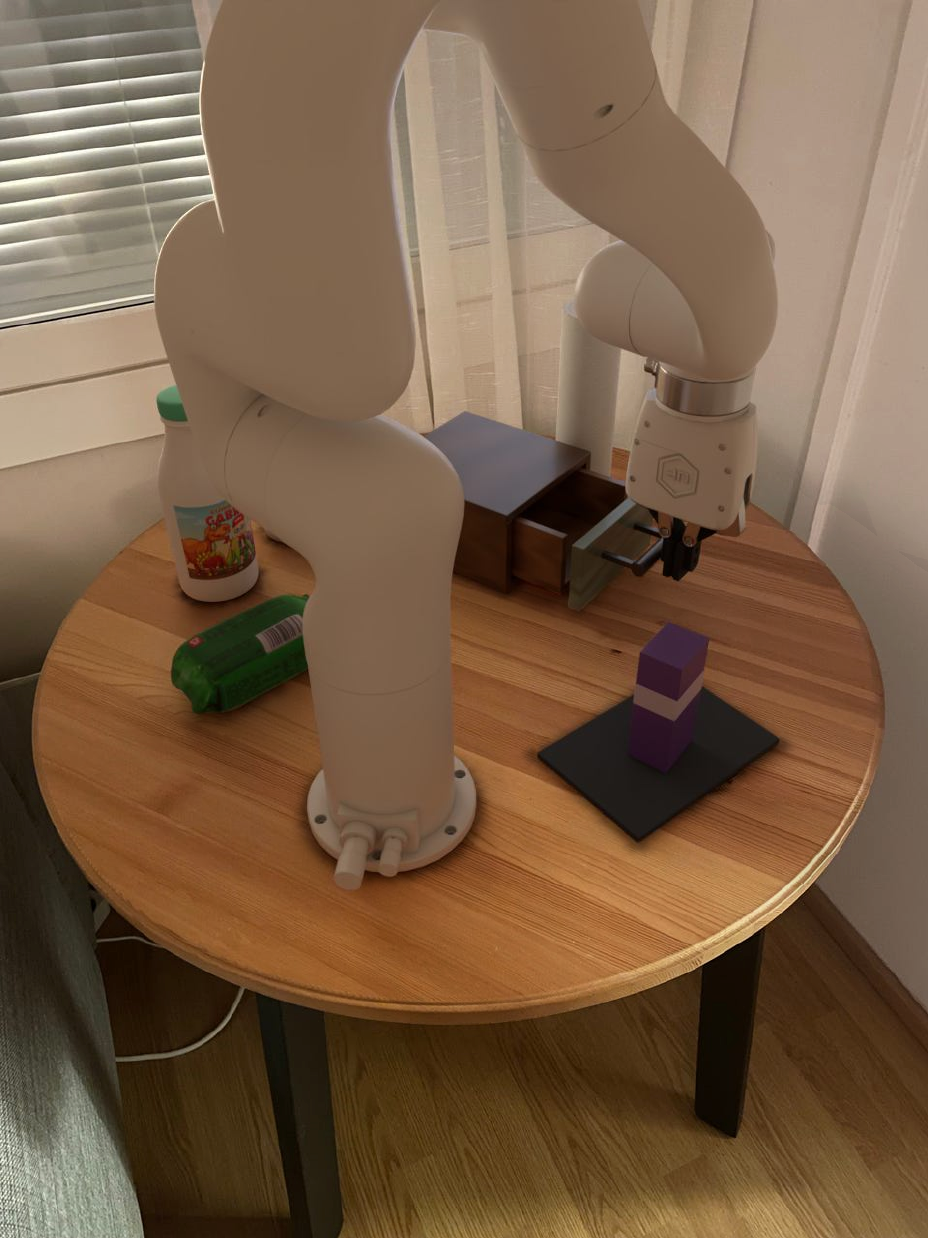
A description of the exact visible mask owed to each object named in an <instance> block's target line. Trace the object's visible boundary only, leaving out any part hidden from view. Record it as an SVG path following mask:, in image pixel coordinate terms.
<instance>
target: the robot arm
mask: <svg viewBox="0 0 928 1238" xmlns="http://www.w3.org/2000/svg"><path fill="white" fill-rule="evenodd" d="M423 31H427V32H434V33H435V32H436V33H441V34H448V35H455V36H456V35H457V36H463V37H466V38H468V39H469V40H471V41H472V43H474V45H475V46H476V47H477V49H478V50H479V51H478V52H480V55H481V57H482V59H483V62H484V64H485V67H486V68H487V71H488V73H489V74H490V77H491V78H492V82H493V83H494V85H495V88H496V90H497V92H498V94H499V97H500V99H501V101H502V104H503V106H504V108H505V111H506V114H507V115H508V118H509V120H510V122H511V124H512V126H513V129H514V131H515V134H516V136H517V139H518V141H519V143H520V145H521V148H522V149H523V152H524V155H525V157H526V160H527V162H528V164H529V167H530V168H531V171H532V172H533V174H534V176H535V177H536V179H537V180H538V182H540V184H541V185H542V186H543V187H544V188H546V189H547V190H548V191H549V192H550V194H552V195H554V196H555V197H556V198H557V199H558V200H560V201H561V202H562V203H563V204H565V205H566V206H567V207H569V208H570V209H571V210H573V211H574V212H576V213H577V214H578V215H579V216H581V217H583V218H584V219H586V220H587V221H588V222H590V223H592V224H593V225H595V226H597V227H598V228H599V229H601V230H604V231H605V232H607V233H609V234H611V235H612V236H614V237H615V238H617V239H619V240H616V241H614V242H612V243H609V244H608V245H606V246H604V247H602V248H601V249H599V250H598V251H597V252H595V253H594V254H593V255H592V256H591V257H590V259H589V260H588V261H587V262H586V263H585V265H584V266H583V268H582V269H581V271H580V273H579V275H578V276H577V279H576V282H575V285H574V291H573V299H574V307H575V312H576V315H577V317H578V319H579V321H580V323H581V324H582V326H583V327H584V328H585V329H586V330H587V331H588V332H589V333H590V334H591V335H593V336H594V337H596V338H597V339H599V340H601V341H603V342H605V343H607V344H610V345H612V346H615V347H618V348H621V350H624V351H627V352H629V353H632V354H635V355H638V356H641V357H644V358H646V359H645V362H644V365H643V371H644V372H645V373H648V374H650V375H651V376H653V377H654V387H653V388H651V389H649V390H648V391H647V392H646V394H645V396H644V399H643V401H642V404H641V407H640V411H639V414H638V418H637V422H636V425H635V429H634V432H633V437H632V441H631V446H630V450H629V455H628V462H627V469H626V475H625V482H626V493H627V495H628V497H629V498H630V499H631V500H632V501H633V502H635V503H637V504H638V505H640V506H641V507H643V508H645V509H648V510H649V512H650V514H651V515H652V517H653V521H655V522H656V524H657V529H658V531H659V534H660V535H661V536H662V537H663V544H662V552H661V559H660V561H661V562H662V564H663V565H662V572H661V575H662V577H664V578H667V579H668V578H672V580H673V581H675V582H677V583H678V582H681V580H682V579H683V578H684V577H685V576H686V575H687V574H688V573H693V572H694V571H695V569H696V568H697V566H698V564H699V560H700V554H701V553H700V552H701V546H702V541H704V540H706V539H708V538H710V537H712V536H714V535H718V536H723V537H730V538H731V537H732V538H737V537H740V535H742V533H744V531H746V529H747V518H746V510H747V509H748V508H749V506H750V504H751V502H752V501H751V500H752V498H753V493H754V486H755V479H756V472H757V471H756V470H757V460H758V443H759V441H758V440H759V438H758V437H759V436H758V435H759V433H758V432H759V430H758V429H759V426H758V413H757V411H758V410H757V406H756V404H755V403H753V402H751V399H752V393H753V388H754V381H755V375H756V369H757V364H758V363H759V362H760V361H761V360H762V359H763V357H764V355H765V354H766V352H767V350H768V349H769V346H770V345H771V343H772V340H773V337H774V333H775V330H776V326H777V320H778V312H779V311H778V310H779V294H778V283H777V277H776V270H775V259H776V242H775V240H774V237H773V236H772V234H771V233H770V232H769V231H768V230H767V229H766V226H765V224H764V221H763V220H762V217H761V215H760V213H759V211H758V209H757V207H756V206H755V204H754V203H753V201H752V199H751V198H750V196H749V195H748V194H747V193H746V191H745V190H744V188H743V187H742V186H741V184H740V183H739V182H738V180H737V179H736V178H735V177H734V176H733V175H732V174H731V172H730V171H729V170H728V169H727V168H726V167H725V166H724V165H723V164H722V162H721V161H720V160H719V159H718V157H717V156H716V155H715V154H714V152H712V151H711V149H710V148H709V147H708V146H707V145H706V143H704V141H703V140H702V139H701V138H700V137H699V136H698V135H697V134H696V133H695V131H694V130H692V128H690V127H689V125H687V124H686V123H685V121H683V120H682V118H680V116H679V115H677V113H675V112H674V111H673V109H672V107H671V106H670V105H669V103H668V101H667V99H666V95H665V93H664V90H663V86H662V83H661V80H660V79H661V78H660V76H659V71H658V68H657V63H656V60H655V57H654V53H653V50H652V47H651V44H650V43H651V42H650V40H649V35H648V33H647V29H646V25H645V22H644V18H643V15H642V11H641V8H640V3H639V0H222V2H221V4H220V6H219V9H218V11H217V15H216V17H215V19H214V23H213V25H212V28H211V31H210V35H209V38H208V42H207V45H206V49H205V54H204V58H203V63H202V69H201V75H200V84H199V121H200V122H199V123H200V131H201V139H202V144H203V150H204V154H205V160H206V164H207V170H208V175H209V179H210V183H211V190H212V195H213V198H211V199H208V200H205V201H203V202H200V203H198V204H196V205H195V206H193V207H192V208H190V209H189V210H187V211H186V212H185V213H184V214H182V216H181V217H180V218H179V219H178V220H177V221H176V222H175V223H174V225H173V226H172V227H171V228H170V231H169V232H168V233H167V236H166V237H165V239H164V241H163V244H162V245H161V248H160V251H159V254H158V257H157V261H156V267H155V271H154V272H155V273H154V279H153V280H154V281H153V300H154V301H153V304H154V312H155V318H156V319H155V320H156V323H157V327H158V331H159V335H160V338H161V340H162V344H163V348H164V351H165V355H166V358H167V361H168V364H169V367H170V370H171V373H172V377H173V378H174V382H175V385H176V386H177V389H178V392H179V395H180V398H181V401H182V404H183V407H184V410H185V413H186V416H187V419H188V422H189V425H190V428H191V431H192V434H193V437H194V440H195V443H196V446H197V449H198V452H199V455H200V457H201V460H202V462H203V465H204V467H205V470H206V472H207V474H208V476H209V478H210V479H211V481H212V483H213V485H214V486H215V488H216V489H217V491H218V492H219V493H220V495H221V496H222V497H223V498H224V499H225V500H226V501H227V502H228V503H229V504H230V505H231V506H233V507H234V508H235V509H236V510H238V511H239V512H240V513H242V514H243V515H245V516H246V517H248V518H249V519H250V521H252V522H254V523H255V524H256V525H258V526H260V527H262V528H265V529H266V530H268V531H269V532H271V533H272V534H274V535H275V536H277V537H278V538H279V539H280V540H282V541H283V542H284V543H283V542H282V543H283V544H285V545H286V546H288V547H290V548H291V549H293V550H294V551H295V552H297V553H299V554H300V555H301V556H302V557H303V558H304V559H305V560H306V561H307V562H308V563H309V565H310V568H311V569H312V570H313V571H312V572H313V574H314V579H315V584H314V589H313V590H312V593H310V595H309V596H310V597H309V599H308V601H307V603H306V605H305V609H304V613H303V640H304V648H305V655H306V660H307V663H308V669H307V670H308V674H309V675H308V676H309V682H310V689H311V695H312V703H313V711H314V716H315V725H316V730H317V737H318V738H317V739H318V745H319V750H320V758H321V765H322V768H321V769H320V771H318V773H317V775H316V776H315V778H314V779H313V781H312V783H311V785H310V787H309V790H308V794H307V800H306V801H307V803H306V812H307V818H308V824H309V826H310V829H311V833H312V835H313V836H314V839H315V840H316V842H317V843H318V845H319V846H320V847H321V848H322V849H323V850H324V851H325V852H326V853H327V854H328V855H329V856H331V857H332V858H334V859H336V860H337V863H336V867H335V871H334V873H333V883H334V884H335V885H336V886H337V887H338V888H340V889H342V890H344V891H350V892H351V891H356V890H358V889H360V888H361V887H362V883H363V879H364V874H365V871H367V872H371V873H379V874H380V875H382V876H383V877H387V878H391V877H395V876H397V875H398V873H399V872H400V873H401V872H409V871H411V870H415V869H419V868H423V867H426V866H427V865H430V864H432V863H434V862H437V861H439V860H440V859H442V858H443V857H445V856H446V855H448V854H449V853H451V852H452V851H453V850H455V848H456V847H457V846H459V844H461V843H462V842H463V840H464V839H465V837H466V836H467V834H468V833H469V832H470V830H471V827H472V826H473V823H474V821H475V818H476V812H477V789H476V785H475V781H474V778H473V776H472V775H471V772H470V770H469V769H468V768H467V766H466V765H465V764H464V763H463V761H462V760H461V759H460V758H459V757H457V756H456V755H455V735H454V734H455V733H454V731H455V729H454V703H453V702H454V701H453V698H454V697H453V696H454V695H453V664H452V663H453V662H452V639H451V597H452V596H451V595H452V580H453V573H454V572H453V566H454V561H455V555H456V551H457V546H458V542H459V537H460V533H461V528H462V522H463V516H464V493H463V488H462V484H461V481H460V478H459V476H458V474H457V472H456V470H455V468H454V467H453V465H452V464H451V462H450V461H449V459H448V458H447V457H446V456H445V455H444V454H443V453H442V452H441V451H440V450H439V449H438V448H437V447H436V446H435V445H434V444H433V443H431V442H430V441H428V440H427V439H426V438H424V436H423V435H421V434H420V433H418V432H416V431H415V430H413V429H411V428H410V427H408V426H406V425H405V424H403V423H401V422H399V421H396V420H395V419H392V418H390V417H389V416H386V415H384V413H385V412H386V411H388V410H390V409H391V407H393V406H394V405H395V404H396V402H397V401H398V400H399V399H400V398H401V396H402V395H403V394H404V392H405V391H406V389H407V387H408V385H409V383H410V381H411V379H412V374H413V370H414V367H415V358H416V357H415V356H416V346H417V345H416V344H417V343H416V341H417V340H416V339H417V337H416V336H417V335H416V325H415V324H416V323H415V315H414V308H413V299H412V292H411V285H410V278H409V270H408V263H407V256H406V255H407V254H406V251H405V250H406V247H405V243H404V242H405V241H404V236H403V235H404V234H403V228H402V220H401V219H402V218H401V212H400V206H399V197H398V191H397V184H396V183H397V182H396V176H395V175H396V174H395V162H394V152H393V150H394V149H393V113H394V107H395V102H396V96H397V90H398V88H399V85H400V81H401V78H402V75H403V73H404V69H405V66H406V63H407V61H408V59H409V57H410V55H411V53H412V51H413V49H414V46H415V44H416V42H417V40H418V38H419V36H420V34H421V32H423ZM685 523H686V524H685Z"/></svg>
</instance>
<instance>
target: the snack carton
mask: <svg viewBox="0 0 928 1238" xmlns="http://www.w3.org/2000/svg"><path fill="white" fill-rule="evenodd" d="M709 644H710V637H708V636H706V635H703V634H700V633H698V632H695V631H693V630H691V629H688V628H685V627H683V626H680V625H678V624H675V623H673V622H671V621H667V622H666V623H665V624H664V625H663V627H661V629H660V630H659V631H658V632H657V633H656V634H655V635H654V636H653V637H652V638H651V639H650V641H648V643H646V644H645V646H644V647H643V648H642V649H641V650H640V651H639V654H638V655H639V656H638V663H637V664H638V665H637V670H636V671H637V672H636V678H635V684H634V693H633V695H634V700H633V712H632V720H631V728H630V736H629V745H628V753H627V755H629V756H631V757H633V758H635V759H637V760H639V761H641V762H643V763H646V764H648V765H650V766H652V767H654V768H656V769H658V770H660V771H662V772H664V773H666V772H667V771H668V770H669V769H670V767H671V766H672V765H673V764H674V762H675V761H676V760H677V759H678V757H679V756H680V755H681V754H682V752H683V751H684V750H685V748H686V747H687V746H688V745H689V743H690V742H691V741H692V737H693V731H694V725H695V719H696V714H697V708H698V702H699V697H700V691H701V688H702V686H703V680H704V675H705V668H706V667H705V666H706V662H707V655H708V650H709Z"/></svg>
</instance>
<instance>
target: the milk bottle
mask: <svg viewBox="0 0 928 1238" xmlns="http://www.w3.org/2000/svg"><path fill="white" fill-rule="evenodd" d="M155 399H156V400H155V401H156V405H157V411H158V413H159V421H161V423H162V424H163V425H164V438H163V444H162V449H161V453H160V456H159V460H158V464H157V473H156V474H157V475H156V479H157V480H156V481H157V488H158V489H157V490H158V494H159V500H160V506H161V510H162V515H163V518H164V524H165V528H166V532H167V537H168V542H169V545H170V546H169V547H170V550H171V554H172V559H173V563H174V567H175V571H176V575H177V579H178V583H179V586H180V588H181V590H182V591H183V592H184V593H185V595H187V596H188V597H189V598H191V599H194V600H197V601H200V602H206V603H208V602H209V603H219V602H225V601H229V600H232V599H236V598H237V597H241V596H242V595H244V594H246V593H248V592H249V591H250V590H251V589H252V588H253V587H254V586H255V584H256V583H257V580H258V578H259V574H260V573H259V572H260V571H259V562H258V556H257V551H256V544H255V539H254V533H253V527H252V522H251V521H252V520H251V519H249V518H248V517H246V516H245V515H243V514H242V513H240V512H239V511H238V510H236V509H235V508H234V507H233V506H231V505H230V504H229V503H228V502H227V501H226V500H225V499H224V498H223V497H222V496H221V495H220V493H219V492H218V491H217V489H216V488H215V486H214V485H213V483H212V481H211V479H210V478H209V476H208V474H207V472H206V470H205V467H204V465H203V462H202V460H201V457H200V455H199V452H198V449H197V446H196V443H195V440H194V437H193V434H192V431H191V428H190V425H189V422H188V419H187V416H186V413H185V410H184V407H183V404H182V401H181V398H180V395H179V392H178V389H177V386H176V384H173V385H170V386H167V387H165V388H163V389H162V390H160V392H158V393H157V395H156V398H155Z"/></svg>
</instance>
